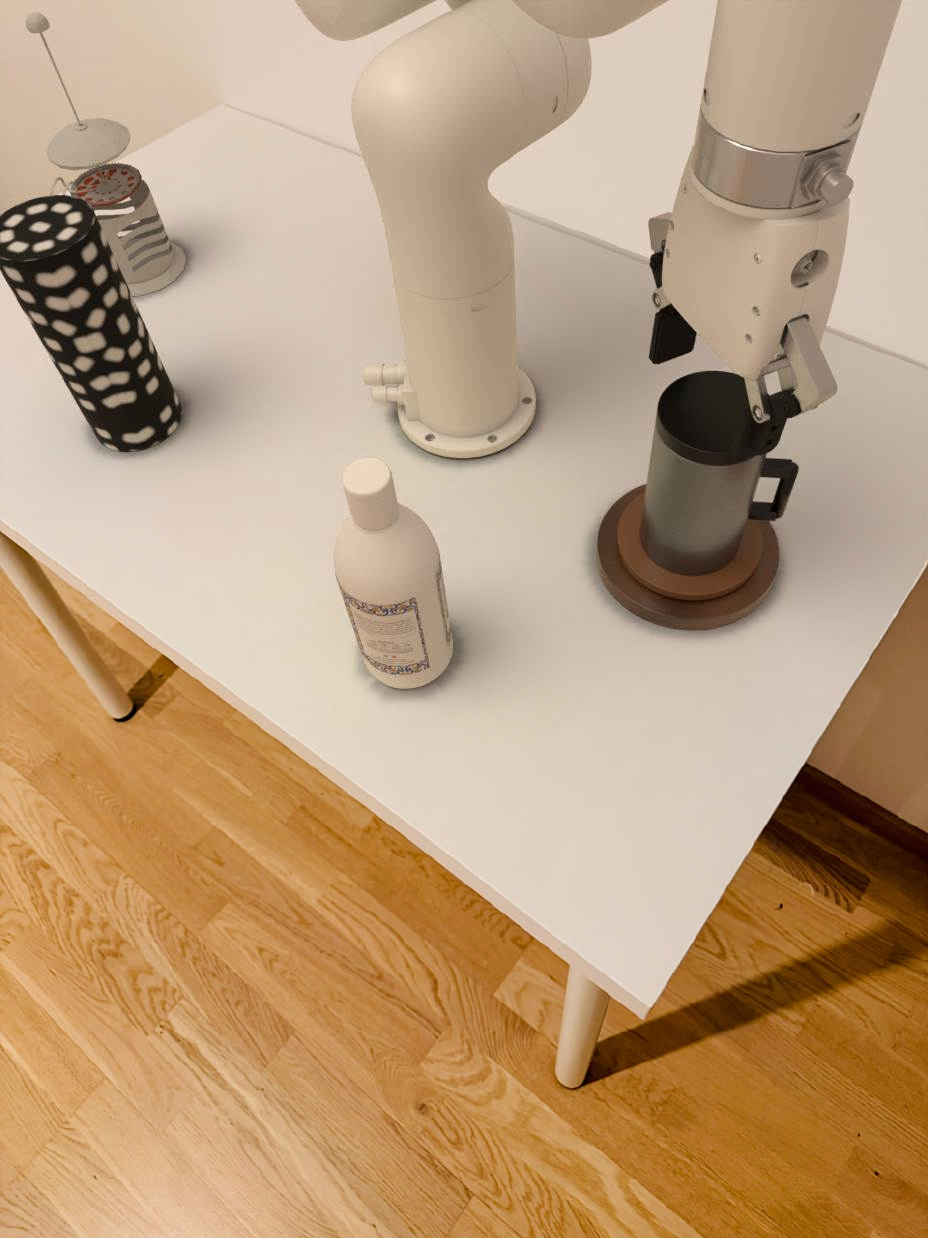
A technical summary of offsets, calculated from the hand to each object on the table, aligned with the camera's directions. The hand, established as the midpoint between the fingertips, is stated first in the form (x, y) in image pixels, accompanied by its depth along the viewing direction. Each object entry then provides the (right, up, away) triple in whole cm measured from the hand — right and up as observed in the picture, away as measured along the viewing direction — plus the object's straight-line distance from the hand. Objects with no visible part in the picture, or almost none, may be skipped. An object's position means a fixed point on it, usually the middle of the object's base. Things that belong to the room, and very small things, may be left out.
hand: (710, 401), depth 59 cm
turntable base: (+2, -9, +13) cm, 16 cm away
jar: (+2, -8, +12) cm, 14 cm away
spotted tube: (-47, +5, +27) cm, 54 cm away
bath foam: (-20, -17, +10) cm, 28 cm away
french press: (-51, +23, +39) cm, 69 cm away
